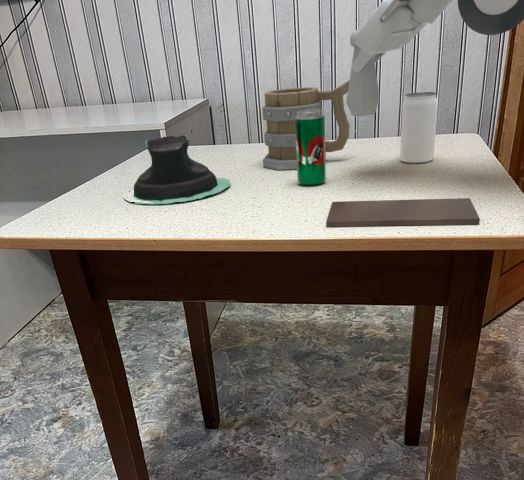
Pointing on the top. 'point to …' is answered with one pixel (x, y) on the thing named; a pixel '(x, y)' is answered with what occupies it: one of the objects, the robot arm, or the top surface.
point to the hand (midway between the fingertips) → (359, 69)
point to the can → (418, 127)
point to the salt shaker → (362, 86)
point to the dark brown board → (402, 213)
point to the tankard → (283, 122)
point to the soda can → (310, 147)
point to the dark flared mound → (175, 174)
